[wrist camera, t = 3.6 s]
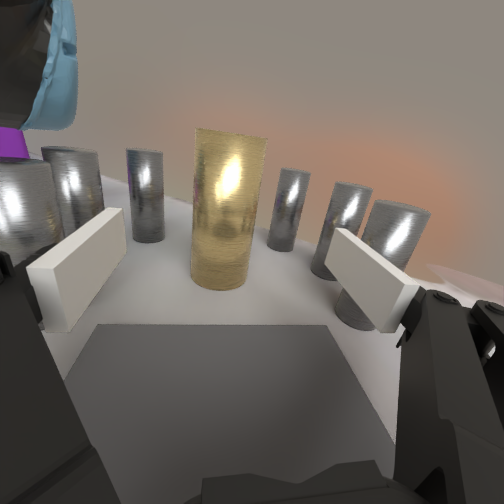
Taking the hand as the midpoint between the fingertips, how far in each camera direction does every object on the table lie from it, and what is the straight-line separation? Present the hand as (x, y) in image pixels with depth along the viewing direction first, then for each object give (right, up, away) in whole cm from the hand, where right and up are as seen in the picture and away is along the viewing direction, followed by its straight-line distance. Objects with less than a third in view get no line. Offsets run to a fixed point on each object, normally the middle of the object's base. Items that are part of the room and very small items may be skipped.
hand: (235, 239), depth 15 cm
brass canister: (-2, -3, +9) cm, 10 cm away
